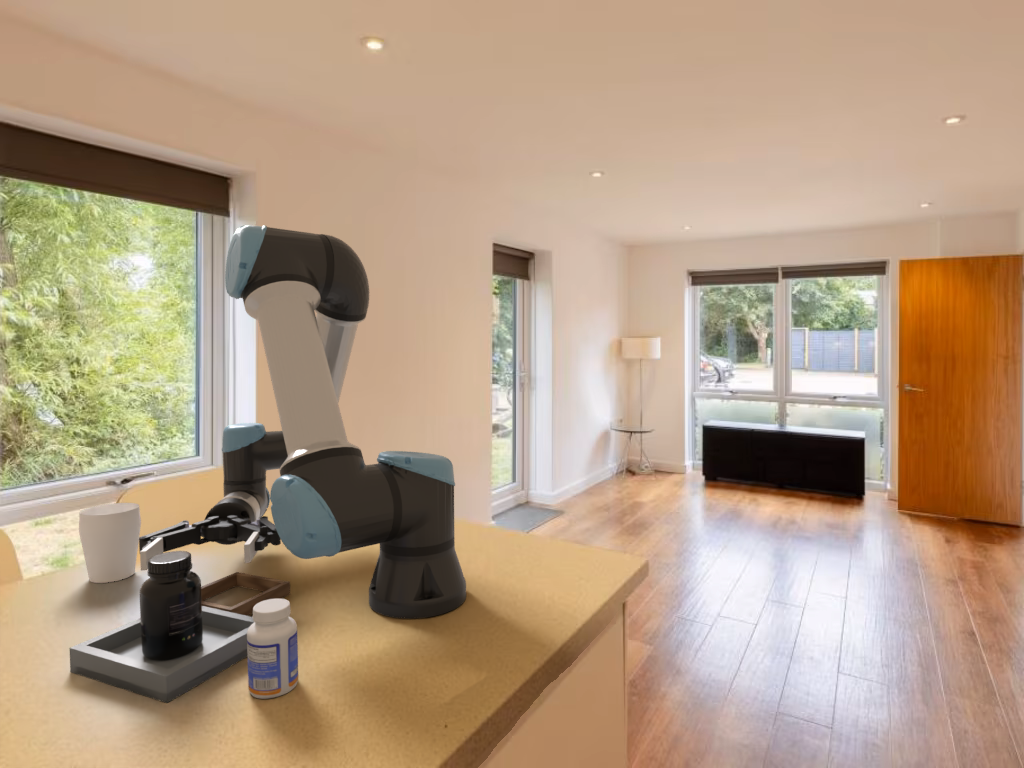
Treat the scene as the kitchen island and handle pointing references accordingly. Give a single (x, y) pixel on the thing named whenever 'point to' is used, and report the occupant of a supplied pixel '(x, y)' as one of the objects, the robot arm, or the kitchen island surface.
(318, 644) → the kitchen island surface
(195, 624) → the supplement bottle
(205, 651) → the tray
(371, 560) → the kitchen island surface
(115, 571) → the cup
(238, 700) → the kitchen island surface
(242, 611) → the bottle holder
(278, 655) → the pill bottle
